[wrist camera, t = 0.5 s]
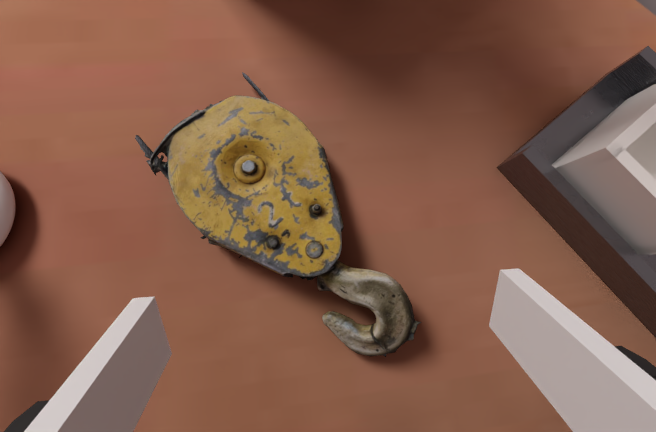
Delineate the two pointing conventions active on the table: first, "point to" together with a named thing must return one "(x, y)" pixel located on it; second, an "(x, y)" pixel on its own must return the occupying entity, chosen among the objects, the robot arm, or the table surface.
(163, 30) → the table surface
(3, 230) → the flower in vase
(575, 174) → the crate
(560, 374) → the robot arm
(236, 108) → the pulley block
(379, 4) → the table surface
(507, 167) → the bay
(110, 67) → the table surface
